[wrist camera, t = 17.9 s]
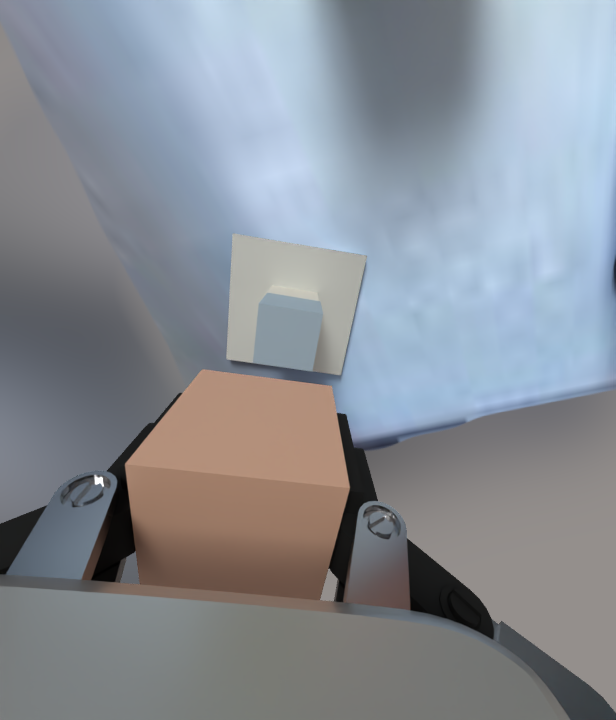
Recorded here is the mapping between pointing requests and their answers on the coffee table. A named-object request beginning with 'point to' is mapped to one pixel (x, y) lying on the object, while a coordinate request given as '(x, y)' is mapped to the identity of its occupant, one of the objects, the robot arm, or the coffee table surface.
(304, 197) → the coffee table surface
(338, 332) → the plate
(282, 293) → the base brick
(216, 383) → the orange cube
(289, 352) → the blue brick
